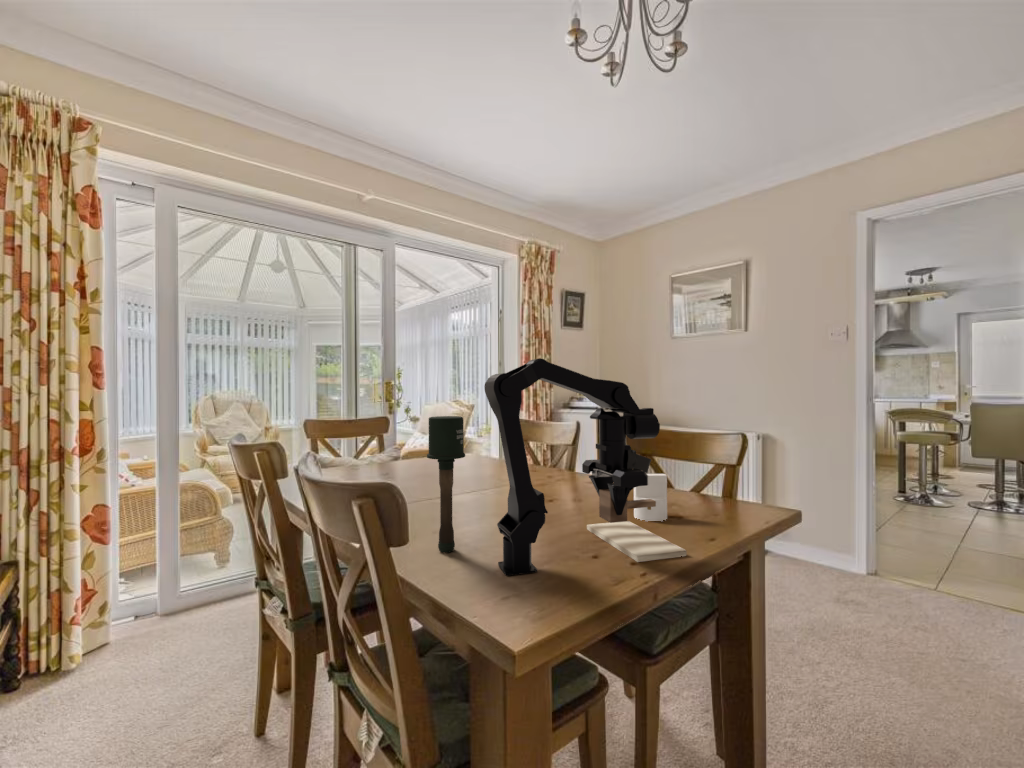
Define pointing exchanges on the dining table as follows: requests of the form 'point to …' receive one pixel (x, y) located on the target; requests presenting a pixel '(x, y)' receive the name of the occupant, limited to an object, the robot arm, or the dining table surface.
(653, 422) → the robot arm
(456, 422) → the stick grenade
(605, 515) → the marking gauge
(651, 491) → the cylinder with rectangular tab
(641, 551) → the birch board
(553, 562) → the dining table surface
